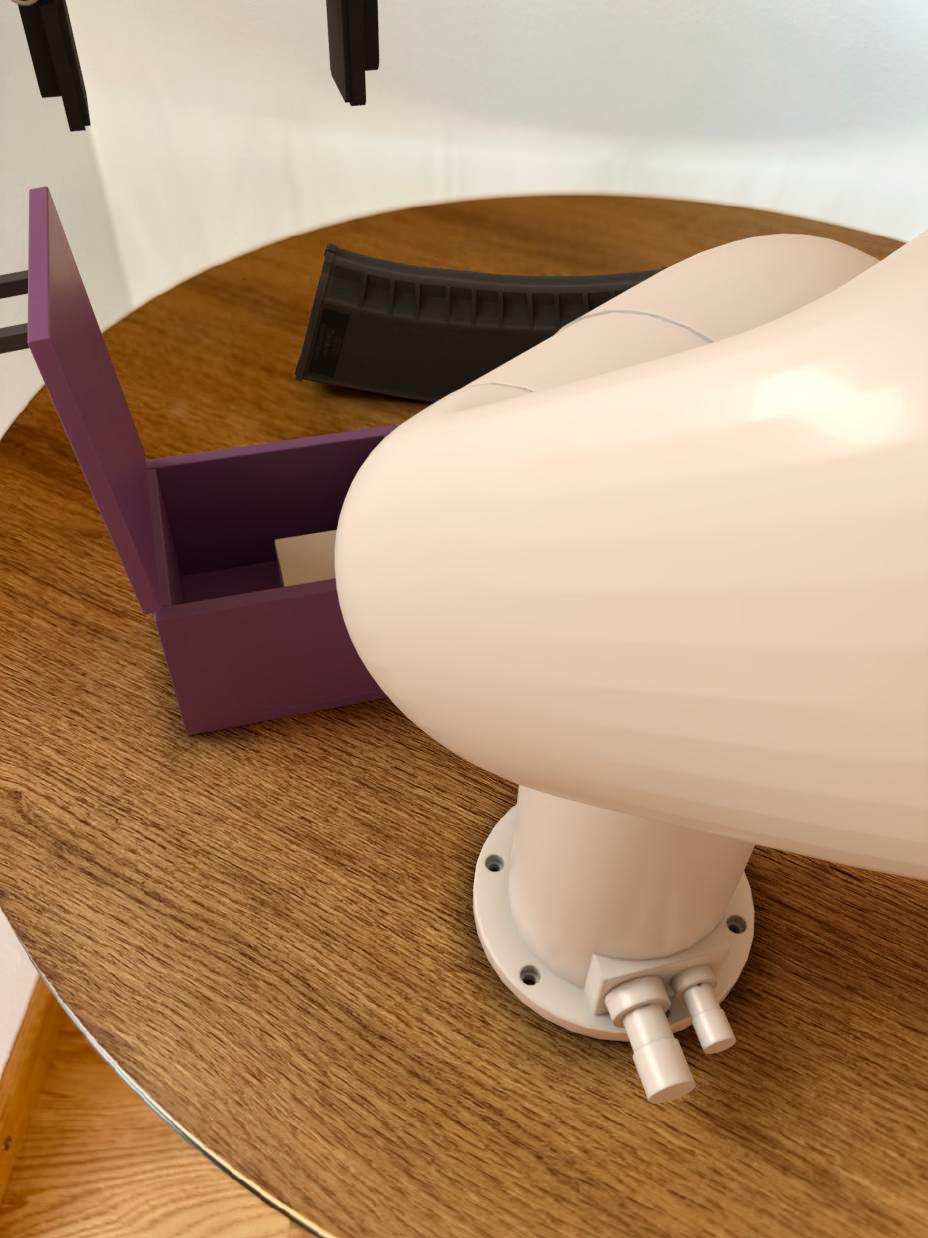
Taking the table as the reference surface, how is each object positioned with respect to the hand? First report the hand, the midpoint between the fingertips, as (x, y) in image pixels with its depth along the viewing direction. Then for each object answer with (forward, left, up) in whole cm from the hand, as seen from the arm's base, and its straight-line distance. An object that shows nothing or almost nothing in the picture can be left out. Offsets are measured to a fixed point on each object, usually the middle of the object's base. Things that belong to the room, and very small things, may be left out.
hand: (216, 102), depth 39 cm
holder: (0, -1, -29) cm, 29 cm away
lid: (0, +6, -12) cm, 14 cm away
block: (0, -2, -28) cm, 28 cm away
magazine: (+18, -19, -29) cm, 39 cm away
